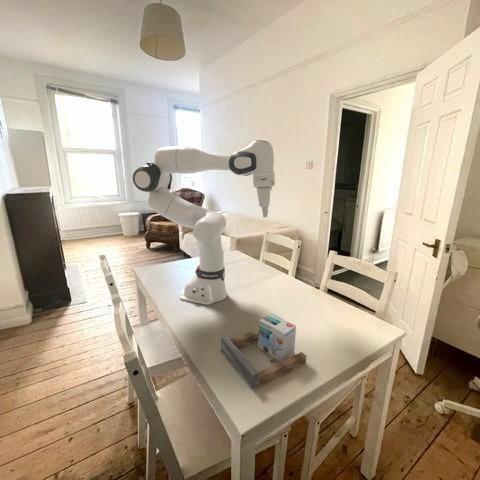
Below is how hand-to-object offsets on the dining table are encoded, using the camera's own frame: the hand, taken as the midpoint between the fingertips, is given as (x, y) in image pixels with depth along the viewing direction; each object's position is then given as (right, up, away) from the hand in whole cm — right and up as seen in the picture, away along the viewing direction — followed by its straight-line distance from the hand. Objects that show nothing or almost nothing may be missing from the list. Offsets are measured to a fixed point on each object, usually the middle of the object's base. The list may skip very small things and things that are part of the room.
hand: (265, 215), depth 113 cm
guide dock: (-4, -48, -26) cm, 55 cm away
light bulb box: (+1, -48, -23) cm, 53 cm away
